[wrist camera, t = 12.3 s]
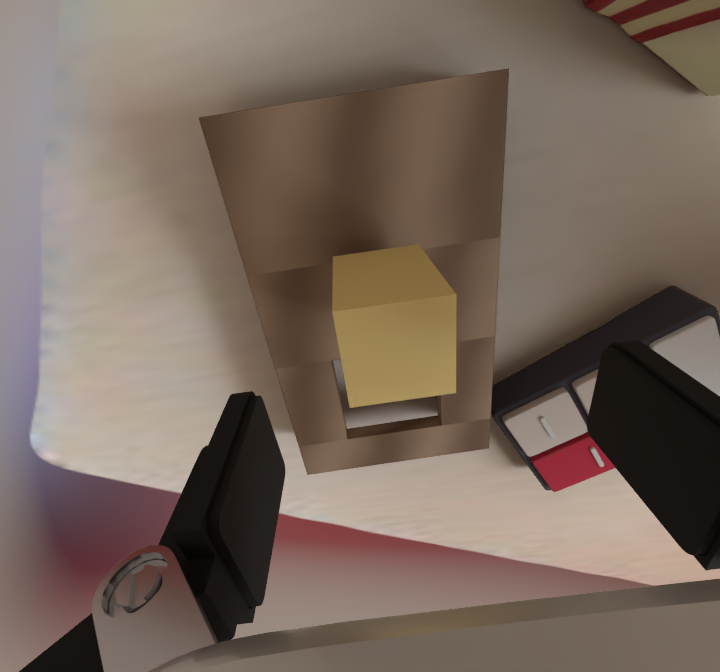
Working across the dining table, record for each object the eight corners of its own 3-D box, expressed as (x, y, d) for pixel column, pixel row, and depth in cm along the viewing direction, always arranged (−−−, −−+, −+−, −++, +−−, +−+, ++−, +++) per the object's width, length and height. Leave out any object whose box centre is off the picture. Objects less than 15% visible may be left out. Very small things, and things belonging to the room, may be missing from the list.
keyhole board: (476, 80, 19) (509, 68, 15) (470, 410, 29) (488, 448, 26) (223, 120, 19) (198, 117, 15) (310, 434, 29) (307, 474, 26)
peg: (407, 209, 21) (472, 277, 11) (412, 288, 24) (469, 401, 14) (323, 221, 21) (313, 299, 11) (336, 299, 24) (338, 419, 14)
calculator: (494, 423, 26) (728, 309, 21) (476, 384, 29) (673, 281, 25) (551, 500, 30) (752, 420, 26) (529, 459, 34) (702, 383, 30)
